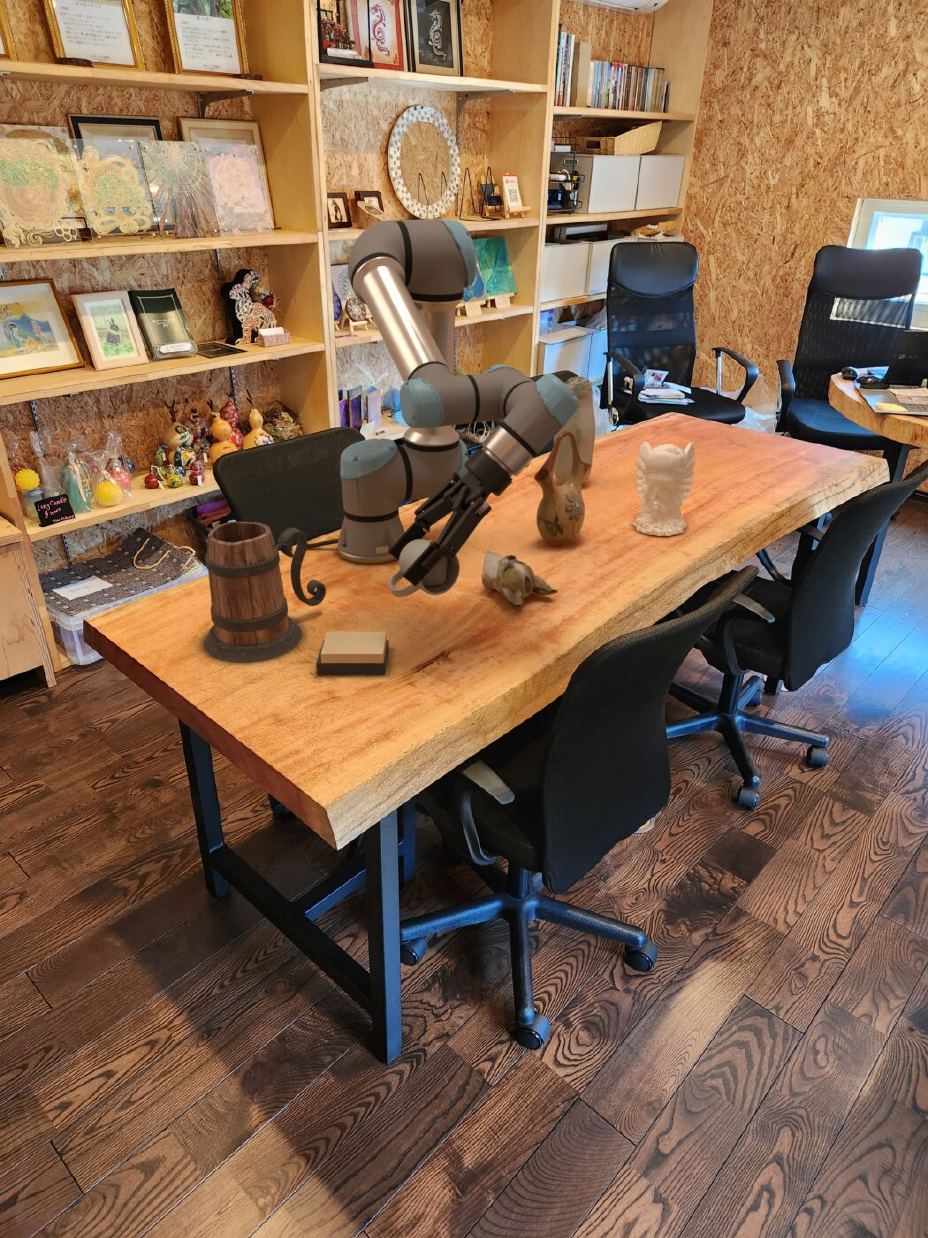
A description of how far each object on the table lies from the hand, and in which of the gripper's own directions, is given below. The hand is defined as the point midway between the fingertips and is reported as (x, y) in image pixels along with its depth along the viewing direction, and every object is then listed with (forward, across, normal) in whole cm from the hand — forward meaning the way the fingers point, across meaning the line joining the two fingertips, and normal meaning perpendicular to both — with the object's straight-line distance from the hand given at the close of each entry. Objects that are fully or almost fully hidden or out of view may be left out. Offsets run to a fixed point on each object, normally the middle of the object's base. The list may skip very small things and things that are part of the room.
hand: (401, 568), depth 132 cm
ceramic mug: (+1, 0, -5) cm, 5 cm away
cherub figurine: (-38, +40, -61) cm, 82 cm away
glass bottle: (-33, +73, -57) cm, 98 cm away
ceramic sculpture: (-6, +16, -29) cm, 34 cm away
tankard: (+26, +15, +3) cm, 30 cm away
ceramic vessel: (-20, +38, -43) cm, 61 cm away
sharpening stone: (+17, 0, -5) cm, 18 cm away
